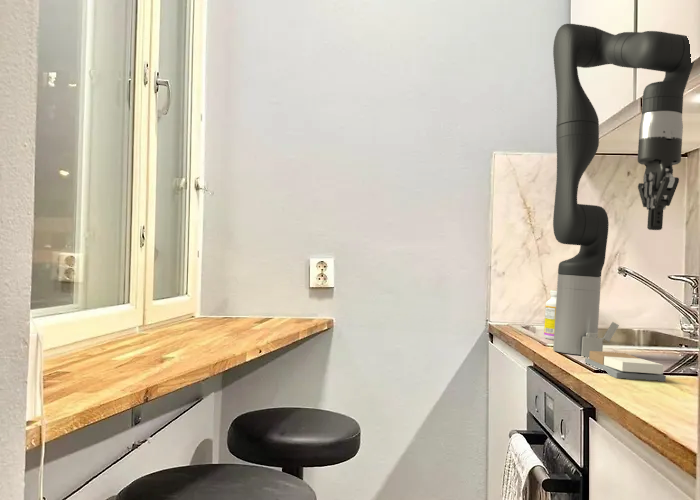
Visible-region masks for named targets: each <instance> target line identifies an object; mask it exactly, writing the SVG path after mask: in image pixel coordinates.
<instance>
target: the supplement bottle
mask: <svg viewBox="0 0 700 500" xmlns="http://www.w3.org/2000/svg"><path fill="white" fill-rule="evenodd" d="M549 291H550V293H549V295H550V299H548V300H547V301H545V308H544V309H545V310H544V312H545V313H544V328H543V329H544V331H543V332H544V333H543V336H544V338H545V339H546V340H553V341H554V330H555V314H556V299H557V289H556V290H551V289H550V290H549Z"/></svg>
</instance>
